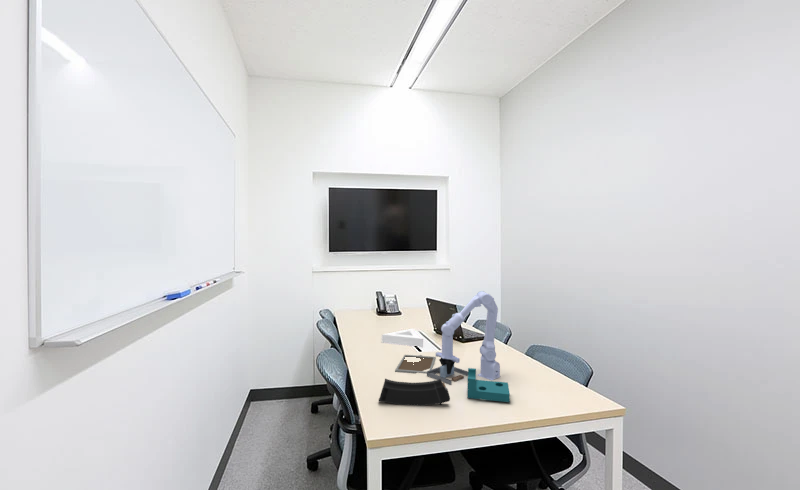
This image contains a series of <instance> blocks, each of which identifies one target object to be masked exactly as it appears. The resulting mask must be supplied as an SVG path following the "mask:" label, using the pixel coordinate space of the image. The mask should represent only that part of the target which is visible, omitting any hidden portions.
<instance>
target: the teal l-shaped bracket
mask: <svg viewBox="0 0 800 490" xmlns="http://www.w3.org/2000/svg"><path fill="white" fill-rule="evenodd" d="M467 371H468V376H467V388H466V389H467V394H466V395H467V396H466V397H467V399H473V400H474V399H475V400H481V401H492V402H493V401H495V402H503V403H511V402H510V401H511V400H510V399H511V398H510V395H511V394H510V387H509V384H508V382H505V381H494V380H485V379H484V380H482V379H480V380H479V379H477V368H474V367H473V368H472V367H468V368H467Z"/></svg>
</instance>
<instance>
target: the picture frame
mask: <svg viewBox="0 0 800 490" xmlns="http://www.w3.org/2000/svg"><path fill="white" fill-rule="evenodd" d="M405 357H416V358H420V359H421V361H419V362H414V363H413V362H407V360H404V359H405ZM423 358H424V359H423ZM436 358H437V357H436V356H429V355H428V356H427V355H421V354H420V355H413V354H403V357H402V358H401V360H400V361H399V363H398V364H397V366H396V368H395V370H394V372H395V373H403V374H404V373H406V374H426V375H427V371H428V370H432V369H434V365H435V361H436V360H437V359H436ZM413 364H414V365H413Z"/></svg>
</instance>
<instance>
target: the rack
mask: <svg viewBox="0 0 800 490" xmlns="http://www.w3.org/2000/svg"><path fill="white" fill-rule="evenodd" d="M426 372H427V374H426V377H429V378H431V379H433V380H439V379H441V381H442V383H443V382H444V383H445V385H449V386H452V383H453V381H452V379H449V378H447V377H445V378H444V377H441V376H440V375H438V374H440V366H438V367H434V368H432V370H430V369H428V370H426ZM454 373H457V374H459V375H463V376H466V377H468V370H465V369H462V368H458V367H456V366H454Z"/></svg>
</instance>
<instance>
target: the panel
mask: <svg viewBox="0 0 800 490" xmlns="http://www.w3.org/2000/svg"><path fill="white" fill-rule="evenodd" d="M439 367H440V373H439V376H441V377H444V378H448V377H450V376H452V375H455V372H454V367H455V364H454V365H453V367H452V370H451V374H447V365H446V364H445V365H443V366H442V365H440V366H439Z"/></svg>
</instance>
